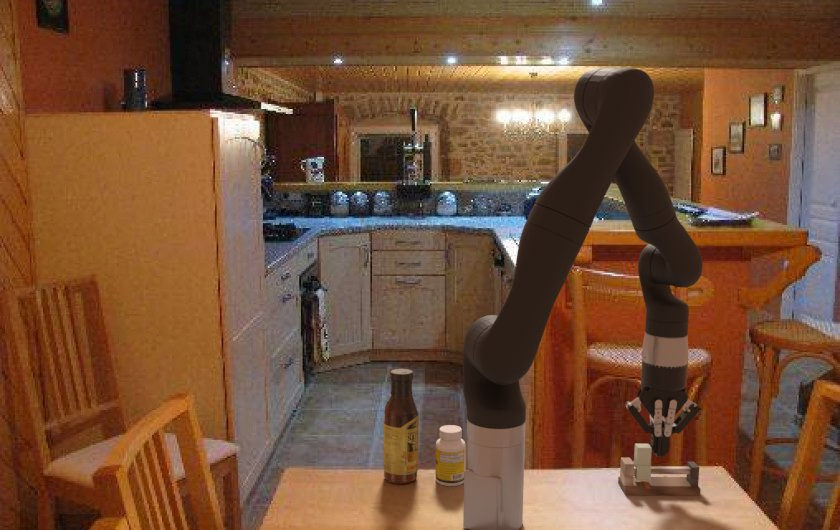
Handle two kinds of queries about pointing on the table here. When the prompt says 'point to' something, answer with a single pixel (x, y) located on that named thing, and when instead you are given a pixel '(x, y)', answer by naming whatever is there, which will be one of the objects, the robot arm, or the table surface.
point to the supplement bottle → (450, 456)
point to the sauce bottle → (401, 430)
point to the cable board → (659, 480)
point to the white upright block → (642, 461)
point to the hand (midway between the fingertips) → (659, 454)
